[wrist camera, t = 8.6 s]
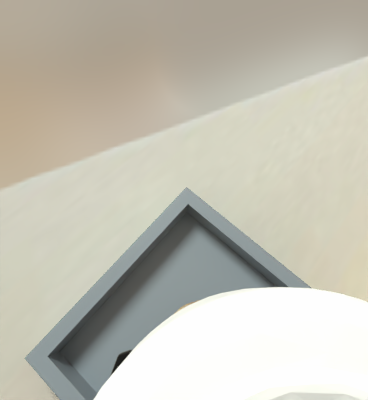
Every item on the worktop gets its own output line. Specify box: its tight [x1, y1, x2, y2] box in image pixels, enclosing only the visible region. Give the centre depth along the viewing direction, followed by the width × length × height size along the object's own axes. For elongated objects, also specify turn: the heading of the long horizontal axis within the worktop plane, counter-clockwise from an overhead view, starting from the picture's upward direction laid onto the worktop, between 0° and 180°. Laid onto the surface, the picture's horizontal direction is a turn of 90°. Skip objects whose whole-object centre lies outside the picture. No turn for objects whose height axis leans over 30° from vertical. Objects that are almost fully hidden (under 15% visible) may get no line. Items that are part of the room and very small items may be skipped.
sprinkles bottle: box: [93, 287, 368, 400], centre depth 8 cm, size 5×5×14 cm
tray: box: [25, 187, 311, 400], centre depth 16 cm, size 13×13×2 cm
